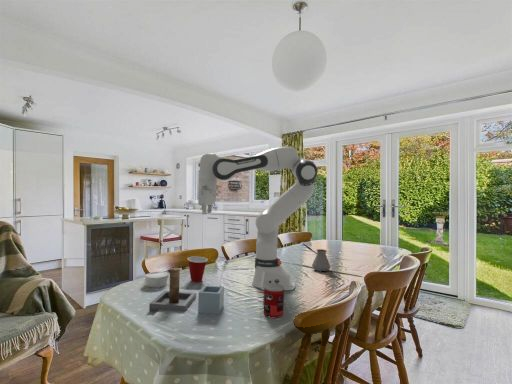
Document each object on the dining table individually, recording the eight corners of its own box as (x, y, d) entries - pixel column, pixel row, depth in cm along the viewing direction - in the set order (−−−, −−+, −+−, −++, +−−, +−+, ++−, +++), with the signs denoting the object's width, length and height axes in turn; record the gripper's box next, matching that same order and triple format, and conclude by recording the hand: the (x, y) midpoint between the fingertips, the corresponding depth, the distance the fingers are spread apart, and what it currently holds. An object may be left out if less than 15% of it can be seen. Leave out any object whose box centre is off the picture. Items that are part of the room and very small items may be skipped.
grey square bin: (223, 308, 117) (224, 286, 117) (219, 316, 109) (219, 293, 109) (203, 306, 118) (204, 285, 118) (197, 315, 110) (198, 292, 110)
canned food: (262, 309, 117) (263, 283, 117) (281, 309, 117) (282, 283, 117) (264, 318, 109) (265, 289, 109) (284, 318, 110) (285, 289, 110)
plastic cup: (202, 284, 145) (203, 261, 145) (183, 282, 148) (183, 259, 148) (210, 278, 156) (210, 256, 156) (191, 276, 158) (192, 255, 158)
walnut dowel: (180, 300, 121) (181, 268, 121) (176, 304, 117) (177, 270, 117) (171, 300, 121) (172, 267, 121) (167, 304, 117) (168, 270, 117)
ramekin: (160, 279, 151) (160, 270, 151) (172, 284, 144) (172, 274, 144) (140, 284, 143) (140, 274, 143) (152, 290, 136) (152, 279, 135)
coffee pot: (333, 270, 179) (334, 247, 179) (323, 274, 171) (324, 249, 171) (306, 263, 195) (307, 242, 195) (296, 266, 187) (296, 244, 187)
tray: (196, 299, 126) (196, 292, 126) (184, 313, 111) (185, 305, 111) (164, 297, 127) (164, 290, 127) (149, 311, 112) (149, 303, 112)
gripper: (208, 185, 130) (207, 215, 130) (218, 186, 151) (217, 212, 151) (195, 185, 131) (194, 215, 131) (206, 186, 151) (206, 212, 151)
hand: (206, 213), depth 141 cm, fingers open, 8 cm apart
